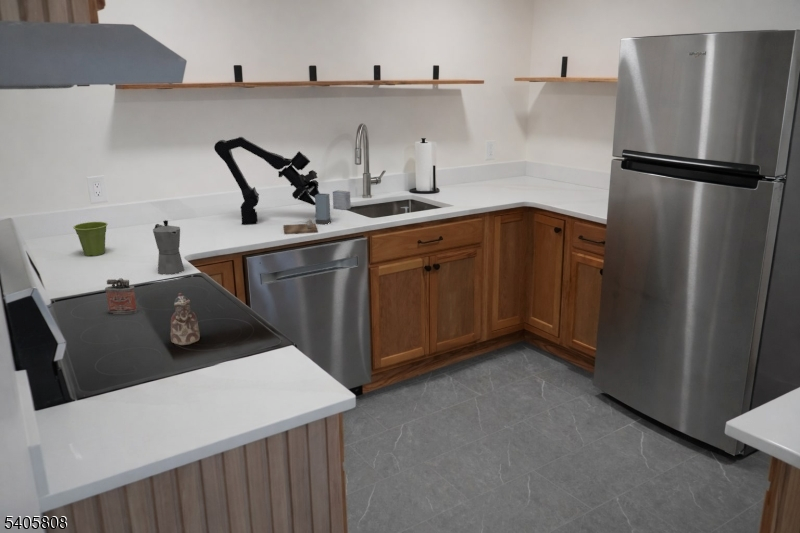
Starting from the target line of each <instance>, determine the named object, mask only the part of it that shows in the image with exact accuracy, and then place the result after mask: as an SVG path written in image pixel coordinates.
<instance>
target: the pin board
mask: <svg viewBox="0 0 800 533" xmlns="http://www.w3.org/2000/svg"><path fill="white" fill-rule="evenodd" d="M282 226H283V232H284V233H283V234H284V235H294V234H295V235H296V234H297V235H298V234H314V233H319V231H318V227H317V224H316V223H313V222H312V220H311V219H308V220H306V223H302V224H301V223H300V224H298V223H297V224H283V225H282Z"/></svg>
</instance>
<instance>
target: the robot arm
mask: <svg viewBox="0 0 800 533" xmlns="http://www.w3.org/2000/svg"><path fill="white" fill-rule="evenodd" d="M237 148H242V149H244V150H245V151H248V152H249V153H251V154H253V155H255V156H257V157H259V158H260V159H262V160H264V161H265V162H266V163H267V164H269V165H270V166H271V167H272V168H273V169H275V170H278V171H277V172H278V176H277V177H278V178H283V176H284V178H285V179H286V180H287V181H288V182H289V183H290V184H289V185H290V186H291V187H292V186H293V187H294V188H295V190H294V191H293V192H292V197H293V198H294V199H295V200H297V201H301V202H303V203H307V204H309V205H312V206H315V204H316V203H315V195H317V194H319V193H320V191H319V182H318V180H316V179H317V178H318V176H317V175H318V173H317V172H316V170H314V169H312V170H310V171H308V173H307V174H305V175H304V174H302V173H301V174H300V173H299V171H303V170H304V169H305V168H306V167H307V165H308V164H309V165H310V163H311V160H310V159H309V158H308V157H307V155H304V154H303V153H302V152H301V151H297V153H296V154H295V155H294V156H292V158H286V157H284V155H281V154H278V153H274V152H271V151H268V150H266V149H264V148H263V147H260V146H259V145H257V144H256V143H253V142H251V141H250V140H247V139H245V137H243V136H238V137H236V138H232V139H229V140H225V139H220V140H217V142H215V144H214V147H213V149H214V151H215V153H216V154H217V155H218V156H219V157H220V158H221V160H222V161H224V163H225V164H226V166H227V168H228V169H229V171H230V173H231V175H232V177H233V178H234V180H235V182H236V184H237V185H238V188H240V191H241V195H242V198H243V202H242V203H241V205H240V214H241V215H240V216H241V225H254V224H257V222H258V212H257V211H256V208H255V207H257V205H258V204H259V201H260V197H259V196H260V193H258V192H257V189H256V187H255V186H254V187H253V188H252V186H250V185H249V183H248V182H247V180H246V178H245V176H244V174H243V173H242V171H241V169H240V167H239V165H238V163H237V162H236V160H235V158H234V155H233V152H232V150H233V149H237ZM313 198H314V200H313Z"/></svg>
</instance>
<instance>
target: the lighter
mask: <svg viewBox="0 0 800 533" xmlns="http://www.w3.org/2000/svg"><path fill="white" fill-rule="evenodd" d="M106 285H110V286H106V287H105V288H104V290H105V293H106V299H107V305H108V306H107V307H108V309H107V311H108V314H109V313H113V314H112V315H129V314H136V313H137V312H138V307H137V303H136V302H137V301H136V297H135V296H136V295H135V286H134V285H130V279H123V278H122V277H121V278H118V279H116V278H115V279H112V278H110V279H107V280H106Z"/></svg>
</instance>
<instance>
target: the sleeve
mask: <svg viewBox="0 0 800 533" xmlns="http://www.w3.org/2000/svg"><path fill="white" fill-rule="evenodd" d="M330 197H331V196H330V193H321V192H319V194H317V195H315V198H314V202H315V203H316V204H315V205H314V208H315V224H316V225H325V224H327V225H329V224H330V223H332V217H331V203H330V202H331V201H330ZM329 222H330V223H329ZM328 223H329V224H328Z"/></svg>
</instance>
